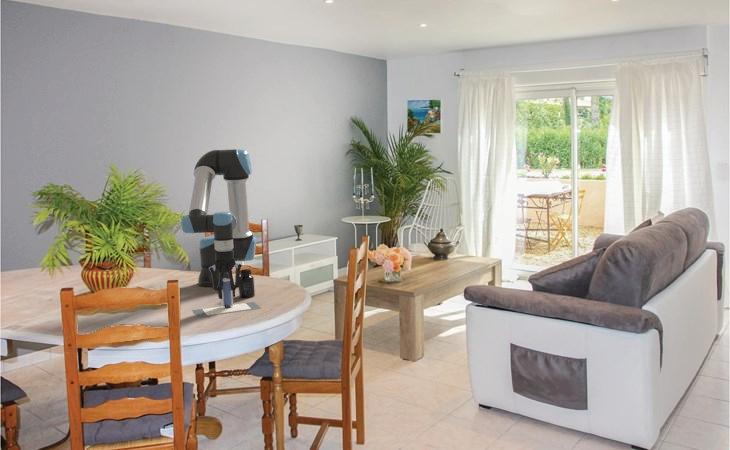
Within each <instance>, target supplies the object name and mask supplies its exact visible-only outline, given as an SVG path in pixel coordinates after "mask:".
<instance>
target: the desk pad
mask: <svg viewBox="0 0 730 450" xmlns="http://www.w3.org/2000/svg"><path fill="white" fill-rule="evenodd" d="M245 303H246V304H247V305H248V306H249V307H250V308H251V309H249V310H242V311H235V312H228V313H221V314H214V315H206V313H205V312H204V311H203V310H202V309H203V308H198V309H191V311H192V313H193V314H194V315H195V317H196V318H197V319H198V318H205V317H210V316H211V317H212V316H217V315H218V316H219V315H227V314H233V313H234V314H235V313H239V312H247V311H253V310H255V311H256V310H259V309H262V307H261V306H260V305H258V304H257V303H256V302H255V301H249V302H245ZM235 304H236V303H235ZM235 304H234V303H233V305H235ZM240 304H242V303H240ZM218 307H221V305H220V306H218ZM211 308H213V306H212V307H211ZM204 309H206V307H205V308H204Z"/></svg>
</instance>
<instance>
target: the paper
mask: <svg viewBox="0 0 730 450" xmlns="http://www.w3.org/2000/svg"><path fill="white" fill-rule="evenodd" d="M246 303H247V302H244V303H242V304H241V303H235V305H234V304H233V306H231V308H225V307H222V306H221V305H220V306H221V307H219V306H214V307H213V306H212V307H213V308H212V307H207V308H206V307H205V308H206V309H205V308H201V309H202V310H203V311H204V312H205V313H206V315H213V316H215V315H214V314H220V315H222V314H221V313H227V314H229V313H228V312H234V313H236V312H235V311H241V312H243V311H242V310H248V311H250V310H249V309H251V308H250V307H249V306H248V305H247V304H246Z"/></svg>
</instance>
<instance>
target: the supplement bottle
mask: <svg viewBox="0 0 730 450" xmlns="http://www.w3.org/2000/svg"><path fill="white" fill-rule="evenodd" d="M254 278H255V276H253V275H252V270H251V269H247V268H246V269H240V283H239V288H238V294H239V295H238V297H239V298H241V299H250V298H254V297H255V296H256V292H255V291H256V289H255V279H254Z"/></svg>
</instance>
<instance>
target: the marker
mask: <svg viewBox="0 0 730 450" xmlns="http://www.w3.org/2000/svg"><path fill="white" fill-rule="evenodd" d="M222 290H223V294H224V305H225V308H231V304H232V303H231V286H230V278H223V285H222Z"/></svg>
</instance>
